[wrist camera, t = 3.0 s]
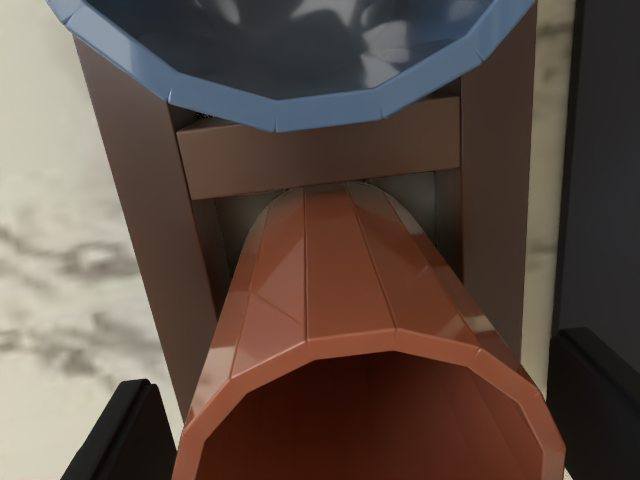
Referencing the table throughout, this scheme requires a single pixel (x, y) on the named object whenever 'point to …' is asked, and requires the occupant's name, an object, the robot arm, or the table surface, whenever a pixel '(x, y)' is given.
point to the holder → (318, 169)
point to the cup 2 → (358, 359)
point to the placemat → (602, 180)
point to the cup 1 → (292, 52)
